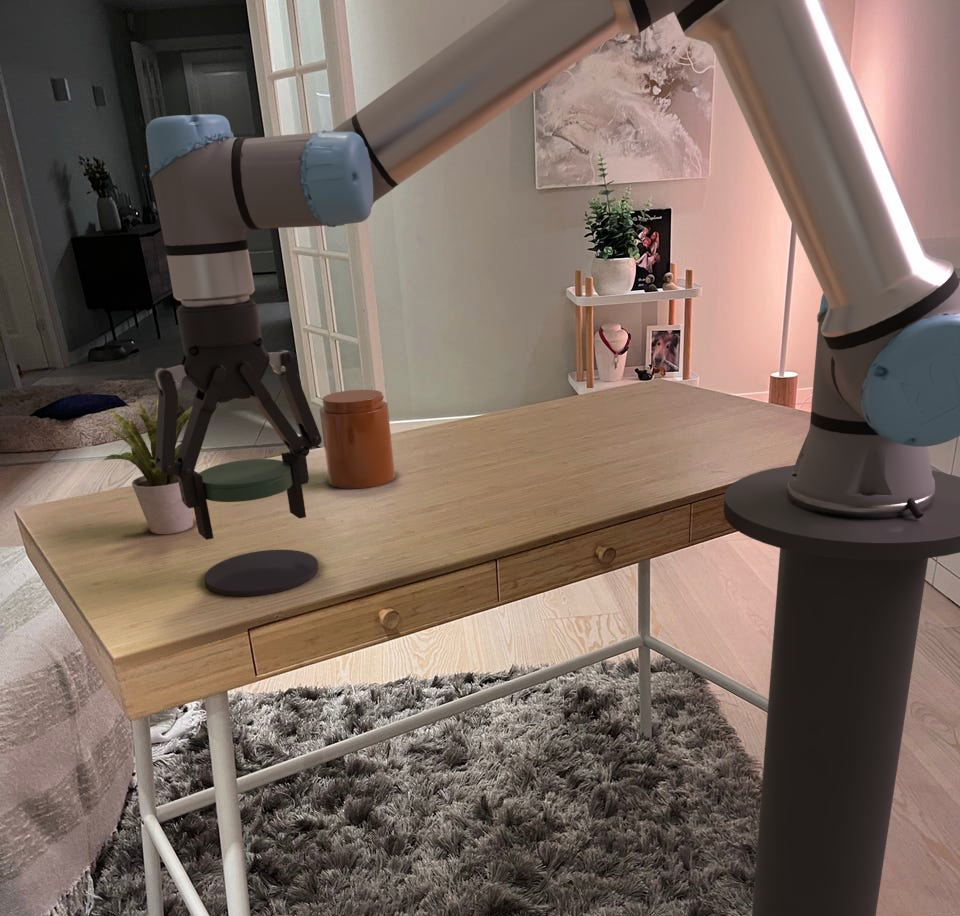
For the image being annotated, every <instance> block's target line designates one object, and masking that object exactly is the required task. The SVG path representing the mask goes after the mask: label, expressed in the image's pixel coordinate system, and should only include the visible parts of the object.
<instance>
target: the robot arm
mask: <svg viewBox="0 0 960 916" xmlns="http://www.w3.org/2000/svg"><path fill="white" fill-rule="evenodd" d="M672 13H674V15H675V17H676V20H677V22H678V24H679V25H680V28H681V31H682V33H683V35H684V37H686V38H689V39H693V40H696V41H700V42H703V43H706V44H708V45H709V46H711V48H712V50H713V52H714V54H715V56H716V58H717V61H718V63H719V65H720V68H721V70H722V71H723V73H724V76H725V79H726V80H727V83H728V85H729V88H730V89H731V92H732V94H733V95H734V96H733V97H734V98H735V100H736V103H737V105H738V107H739V110H740V112H741V114H742V116H743V118H744V120H745V122H746V125H747V126H748V129H749V131H750V134H751V136H752V138H753V140H754V143H755V145H756V147H757V149H758V151H759V154H760V156H761V158H762V160H763V162H764V164H765V166H766V167H765V168H766V169H767V171H768V174H769V176H770V177H771V180H772V182H773V184H774V186H775V189H776V191H777V193H778V195H779V197H780V200H781V202H782V205H783V206H784V209H785V211H786V213H787V215H788V218H789V219H790V222H791V224H792V226H793V228H794V231H795V233H796V235H797V237H798V240H799V242H800V245H801V246H802V248H803V251H804V253H805V255H806V257H807V259H808V262H809V263H810V266H811V268H812V271H813V273H814V275H815V278H816V280H817V281H818V284H819V287H820V288H821V291H822V292H823V293H822V295H821V299H820V305H819V312H818V313H817V315H816V316H817V317H816V323H817V332H816V333H817V335H816V346H815V358H814V369H813V384H812V394H811V395H812V396H811V397H812V398H811V407H810V409H811V410H810V421H809V429H808V431H807V434H806V437H805V439H804V442H803V444H802V445H801V449H800V451H799V453H798V456H797V458H796V460H795V464H794V465H795V466H794V469H793V471H792V472H791V474H790V477H789V481H788V489H787V498H788V500H789V501H790V502H791V503H792V504H794V505H795V506H797V507H799V508H801V509H803V510H806V511H809V512H812V513H816V514H820V515H825V516H830V517H837V518H845V519H859V520H881V519H894V518H902V517H907V516H912V515H914V517H915V518H916V519H918V518H921V517H922V516H923V515H924V514H923V511H926V510H927V509H929V508H930V507H931V506H932V505H933V501H934V495H935V480H934V478H933V476H932V470H933V469H932V463H931V458H930V451H929V448H928V447H932V446H933V447H934V446H937V445H938V446H939V445H942V444H944V443H948V442H950V441H953V440H955V439H957V438H958V437H960V280H959V277H958V275H957V272H956V270H955V268H954V265H953V263H952V262H951V261H949V260H945V259H941V258H938V257H934V256H932V255H929V254H928V253H927V252H926V250H925V248H924V245H923V244H922V241H921V238H920V236H919V233H918V231H917V228H916V226H915V223H914V220H913V219H912V216H911V213H910V211H909V209H908V206H907V204H906V201H905V199H904V196H903V194H902V192H901V189H900V187H899V184H898V182H897V180H896V176H895V174H894V172H893V169H892V167H891V165H890V161H889V159H888V157H887V155H886V152H885V149H884V147H883V144H882V142H881V139H880V138H879V135H878V133H877V130H876V127H875V125H874V123H873V120H872V118H871V115H870V113H869V110H868V108H867V106H866V103H865V101H864V98H863V96H862V93H861V91H860V89H859V86H858V84H857V82H856V79H855V76H854V74H853V71H852V69H851V66H850V64H849V61H848V59H847V57H846V54H845V52H844V49H843V47H842V45H841V41H840V40H839V37H838V35H837V32H836V29H835V27H834V25H833V23H832V20H831V18H830V16H829V13H828V10H827V7H826V5H825V3H824V1H823V0H509V1H508V2H507V3H505V4H504V5H502V6H500V7H499V8H498V9H497V10H496V11H494V12H493V13H491V14H490V15H489V16H487V17H485V18H484V19H483V20H482V21H480V22H479V23H478V24H476V25H475V26H473V27H472V28H471V29H469V30H468V31H467V32H465V33H463V35H461V36H460V37H458V38H457V39H456V40H454V41H453V42H451V43H450V44H449V45H447V46H446V47H445V48H444V49H442V50H440V51H439V52H438V53H437V54H435V55H434V56H433V57H431V58H430V59H428V60H427V61H425V62H424V63H423V64H421V65H420V66H419V67H418V68H416V69H415V70H413V71H412V72H411V73H408V74H407V75H406V76H405V77H404V78H402V79H401V80H400V81H398V82H397V83H396V84H394V85H393V86H391V87H390V88H389V89H387V90H386V91H385V92H383V93H382V94H381V95H379V96H378V97H376V98H375V99H374V100H372V101H371V102H370V103H368V104H367V105H365V106H363V108H361V109H360V110H359V111H357V112H356V113H354V115H352V116H351V117H349V118H348V119H346V120H345V121H343V122H342V123H341V124H339V125H337V127H335V128H334V129H333V130H325V129H323V130H317V131H316V132H305V133H294V134H283V135H281V134H280V135H272V136H271V135H270V136H263V137H262V136H261V137H251V138H250V137H235V136H234V132H232V130H231V125H230V121H229V120H228V118H227V117H226V116H224V115H221V114H215V113H214V114H213V113H212V114H211V113H209V114H207V113H205V114H203V113H202V114H190V115H187V114H182V115H181V114H179V115H169V116H160V117H157V118H154V119H152V120H151V121H150V122H149V123H148V124H147V126H146V128H145V139H146V148H147V156H148V164H149V171H150V172H149V175H148V176H149V179H150V181H151V184H152V189H153V193H154V198H155V203H156V208H157V213H158V219H159V222H160V228H161V233H162V238H163V244H164V251H165V255H166V259H167V265H168V272H169V278H170V284H171V289H172V290H171V291H172V293H173V294H172V295H173V298H174V299H175V300H176V301H179V302H180V303H181V304H180V305H179V306H177V309H176V310H175V311H176V317H177V323H178V328H179V334H180V339H181V343H182V344H181V345H182V349H183V355H182V356H183V357H182V360H181V363H180V364H178V365H175V366H171V367H166V368H163V367H159V366H158V367H156V368H154V369H153V371H152V372H153V373H152V374H153V375H152V376H153V378H154V381H155V384H156V388H157V392H158V394H159V398H158V397H157V398H158V417H157V436H156V456H155V466H156V467H157V468H158V469H159V470H160V471H161V472H163V473H164V474H166V475H170V474H171V475H176V476H177V478H178V482H179V487H180V492H181V497H182V501H183V503H184V504H185V506H187V507H188V508H193V513H194V517H195V522H196V528H197V532H198V534H199V535H200V536H201V537H202V538H203V539H205V540H206V541H208V540H213V539H214V533H213V528H212V522H211V517H210V512H209V511H210V510H209V506H208V500H207V499H206V495H205V489H204V484H203V479H202V476H201V475H200V474H199V472H197V471H196V470H195V469H196V466H197V463H198V460H199V457H200V453H201V451H202V450H201V448H203V446H202V445H204V440H205V437H206V434H207V431H208V429H209V428H208V427H209V425H210V422H211V419H212V415H213V413H214V412H215V411H216V408H217V405H218V403H219V404H221V403H227V402H230V401H232V400H234V399H238V400H246V399H251V400H252V401H253V402H254V404H255V405H256V406H257V408H258V409H259V411H260V412H261V413H262V415H263V416H264V418H265V419H266V420H267V422H268V423H269V425H270V426H271V427H272V428H273V430H274V431H275V433H276V434H277V435H278V437H279V438H280V440H281V441H282V442H283V444H284V445H285V446H286V448H287V449H288V450H289V452H288V451H287V452H281V459H282V460H281V461H284V462H286V463H288V464H289V465H290V468H291V475H292V481H293V484H292V486H291V487H290V488H289V489H287V490H286V494H287V500H288V508H289V513H290V514H292V515H293V516H294V517H297V519H300V520H301V519H304V518H307V514H306V507H305V500H304V499H305V498H304V493H303V492H304V491H303V486H302V485H306V484H309V480H310V476H309V470H308V469H309V467H308V462H307V461H308V460H307V456H308V455H309V453H310V449H312V448H314V447H318V446H320V445H321V443H322V442H323V441H322V440H323V438H322V436H321V433H320V431H319V428H318V425H317V423H316V421H315V418H314V415H313V413H312V412H313V411H312V410H311V408H310V405H309V402H308V399H307V397H306V394H305V391H304V389H303V387H302V384H301V381H300V378H299V376H298V362H297V361H298V360H297V355H296V354H295V353H294V352H292V351H289V350H285V349H279V350H277V351H272V352H270V351H269V352H268V351H267V350H266V348H265V346H264V344H263V336H262V330H261V329H262V328H261V323H260V317H259V310H258V304H257V302H255V300H254V299H251V298H250V296H251V295H252V294H253V293H254V292H255V291H256V288H255V282H254V276H253V270H252V264H251V258H250V253H249V243H248V240H247V230H251V231H252V230H256V231H257V230H262V229H282V228H283V229H285V228H289V229H290V228H307V227H308V228H309V227H324V226H325V227H328V228H336V227H340V226H341V227H342V226H345V225H349V224H358V223H362V222H365V221H366V220H368V218H369V217H370V215H371V212H372V207H373V205H374V204H375V203H376V202H377V201H378V200H380V199H381V198H383V197H384V196H386V195H387V194H388V193H390V192H391V191H392V190H394V189H395V188H396V187H398V185H401V184H402V183H403V182H405V181H406V180H408V179H409V178H410V177H412V176H413V175H415V174H416V173H418V172H420V171H421V170H422V169H424V168H425V167H427V166H428V165H429V164H431V163H432V162H434V161H435V160H437V159H438V158H440V157H442V155H444V154H445V153H447V152H448V151H449V150H451V149H452V148H454V147H455V146H457V145H458V144H460V143H461V142H463V141H464V140H465V139H467V138H468V137H470V136H471V135H473V134H475V133H476V132H477V131H480V129H482V128H483V127H484V126H486V125H487V124H489V123H491V122H492V121H493V120H495V119H496V118H497V117H499V116H500V115H502V114H503V113H505V112H506V111H507V110H509V109H511V108H512V107H514V106H515V105H516V104H518V103H519V102H521V101H522V100H524V99H525V98H527V97H528V96H530V95H531V94H532V93H535V91H537V90H538V89H540V88H541V87H542V86H544V85H545V84H547V83H549V82H550V81H551V80H553V79H554V78H556V77H557V76H558V75H560V74H562V73H563V72H564V71H566V70H567V69H569V68H570V67H571V66H574V64H576V63H578V62H579V61H580V60H582V59H584V58H585V57H586V56H588V55H589V54H591V53H592V52H594V51H595V50H596V49H598V48H599V47H601V46H602V45H603V44H605V43H606V42H608V41H609V40H611V39H612V38H614V37H616V36H617V35H618V34H625V35H629V36H633V37H636V36H638V35H639V34H641V33H642V32H643V31H645V30H646V29H648V28H650V27H651V26H652V25H654V24H655V23H657V22H658V21H660V20H662V19H664V18H665V17H667V16H669V15H671V14H672ZM269 366H270V367H271V369H272V371H273V372H274V373H276V374H277V377H278V380H279V382H280V385H281V387H282V390H283V393H284V394H285V398H286V400H287V402H288V406H289V408H290V411H291V412H292V416H293V418H294V420H295V423H296V425H297V428H298V430H299V433H300V435H299V434H298V433H297V431H296V430H295V429H294V427H293V426H292V424H291V423H290V422H289V420H288V419H287V417H286V416H285V415H284V413H283V412H282V410H281V409H280V408H279V406H278V405H277V403H276V401H275V400H274V399H273V398H272V395H271V393H270V392H269V390H268V389H267V387H266V386H265V385H264V383H263V382H262V379H263V377H264V375H265V373H266V371H267V369H268V367H269ZM184 378H186V379H188V380H189V381H190V382H191V383H192V384H193V385H194V386H195V387H196V390H195V393H194V395H193V400H192V406H193V408H192V411H191V414H190V413H189V414H190V417H189V419H188V420H189V421H188V420H187V421H188V424H187V425H186V428H185V431H184V434H183V436H182V439H181V441H182V443H181V442H180V444H181V446H180V449H179V453H178V456H177V459H176V461H175V448H176V446H175V444H176V445H177V443H176V427H177V421H178V407H179V395H178V391H179V390H181V389H182V386H183V379H184Z"/></svg>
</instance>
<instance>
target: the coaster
mask: <svg viewBox="0 0 960 916" xmlns="http://www.w3.org/2000/svg"><path fill="white" fill-rule="evenodd" d="M319 568H320V567H319V561H318V560H317V558H316V557H315V556H314V555H312V554H311V553H308V552H305V551H300V550H295V549H266V550H257V551H251V552H247V553H243V554H239V555H235V556H232V557H229V558H226V559H224V560H221V561H219V562H217V564H214V565H213V566H212V567H210V568H209V569H208V570H207V571H206V572H205V574H204V583H205V587H207V589H208V590H210V591H212V592H214V593H215V594H220V595H224V596H229V597H256V596H263V595H264V596H265V595H269V594H276V593H280V592H283V591H287V590H290V589H294V588H297V587H298V586H302V585H303V584H304V583H307V582H308V581H310V580H311V579H312V578H314V577H316V574H317V573H318V572H319Z"/></svg>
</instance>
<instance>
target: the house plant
mask: <svg viewBox="0 0 960 916" xmlns="http://www.w3.org/2000/svg"><path fill="white" fill-rule="evenodd" d="M133 397H134V401H135V402H136V405H137V407H138V409H139V412H140V413H137V416H139V417H140V418H141V420H142V422H143V423H144V425H145V429H146V433H147V437H148V439H149V442H150V450H149V447H148V445H147V443H146V441H145V439H144V438H143V436H142V435H141V433H140V430H139V429H138V427H137V425H136V424H135V423H134V422H133V420H130V422H129V420H127V419H126V418H124V417H122V416H121V415H119V414H118V413H117V412H115V411H112V410H109V409H106V411H107V412H108V414H110V415H111V417H112V418H114V419H115V421H116V422H117V423H118V425H119V426H120V427H121V429H122V430H123V433H124V434H125V435H126V436H125V435H124V434H122V433H121V432H119V431H118V430H116V429H115V428H113V427H111V426H109V425H108V424H105V423H101V422H100V425H102V426H103V427H105V428H107V429H109V430H110V431H111V432H113V434H114V435H116V436H118V438H120V439H122V440H123V441H124V443H126V444H127V445H128V446H129V447H130V448H131V452H127V451H126V452H123V453H120V454H117V453H114V454H110V455H107V456H105V457H104V459H103V460H102V462H104V461H108V460H124V461H128V462H130V463H132V464H133V465H135V467H137V469H138V470H139V471H140V472H141V474H142V475H141V476H139V477H136V478H135V479H134V480H132V481H131V485H132V488H133V490H134V493H135V495H136V498H137V502H138V504H139V505H140V508H141V511H142V513H143V516H144V518H145V521H146V522H147V525H148V529H149V530H150V532H151V533H153V534H157V535H172V534H177V533H181V532H184V531H187V530H189V529H191V528H192V527H193V526H194V508H188V507H187V506H185V504H184V503H183V501H182V497H181V492H180V487H179V482H178V478H177V476H176V475H171V474H170V475H166V474H164V473H163V472H161V471H160V470H159V469H158V468H157V467H156V466H155V456H156V436H157V417H158V398H159V393H158V394H157V399H156V409H155V412H154V417H153V420H151V419H150V416H149V415H148V413H147V412H146V410H145V408H144V407H143V405H142V403H141V402H140V401H139V399H137V398H136V397H135V396H133ZM192 408H193V405H192V406H190V407H189V408H188V409H187V410H185V411H184V412H183V413H182V414H181V415H180V416H179V418H177V427H176V444H175V461H176V459H177V456H178V453H179V449H180V446H181V443H182V440H178V439H179V437H180V435H181V432H182V430H183V428H184V427H185V426H187V424H188V421H189V417H190V414H191V411H192ZM177 443H180V444H178V445H177ZM204 446H206V444H202V447H201V450H200V451H203V452H205V453H207V454H209V452H208V451H207V450H206V449H204V448H203V447H204Z"/></svg>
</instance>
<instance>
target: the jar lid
mask: <svg viewBox="0 0 960 916" xmlns="http://www.w3.org/2000/svg"><path fill="white" fill-rule="evenodd" d="M198 474H200V475H201V476H202V479H203V484H204V489H205V495H206V500H207V501H211V502H218V503H239V502H241V503H242V502H247V501H249V502H250V501H256V500H262V499H265V498H266V499H267V498H269V497H273V496H277V495H279V494H281V493H283V492H286V491H287V489H289V488H290V487H291V486H292V484H293V481H292V475H291V468H290V465H289V464H288V463H286V462H284V461H282V460H279V459H274V458H273V459H271V458H254V459H253V458H252V459H242V460H235V461H230V462H225V463H221V464H216V465H213V466H211V467H208V468H205V469H204V470H202V471H201V472H198Z"/></svg>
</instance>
